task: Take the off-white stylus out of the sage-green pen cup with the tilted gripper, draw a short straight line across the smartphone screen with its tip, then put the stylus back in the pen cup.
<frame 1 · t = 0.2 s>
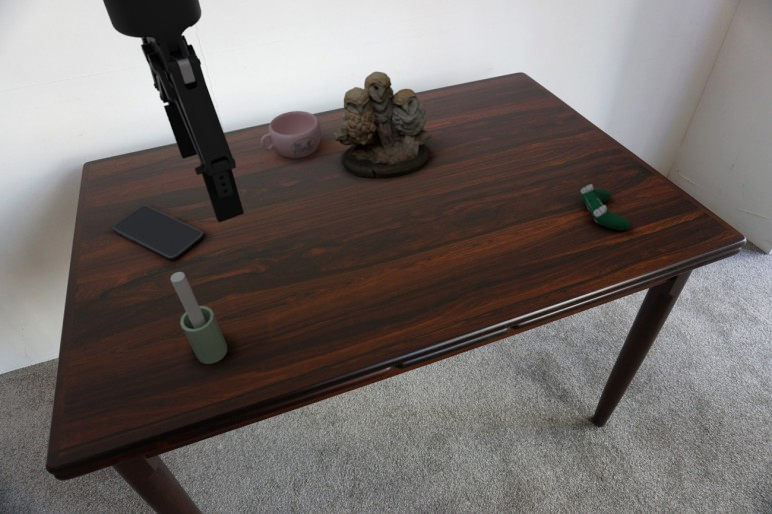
hand: (210, 183, 58), 23 cm above the table, tool pointing down, fingers open, 13 cm apart
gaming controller: (600, 216, 86), on the table
owl figurine: (383, 161, 100), on the table
smartphone: (159, 234, 87), on the table
stylus: (211, 349, 69), resting on pen holder
mug: (293, 151, 103), on the table
pen holder: (212, 351, 69), on the table
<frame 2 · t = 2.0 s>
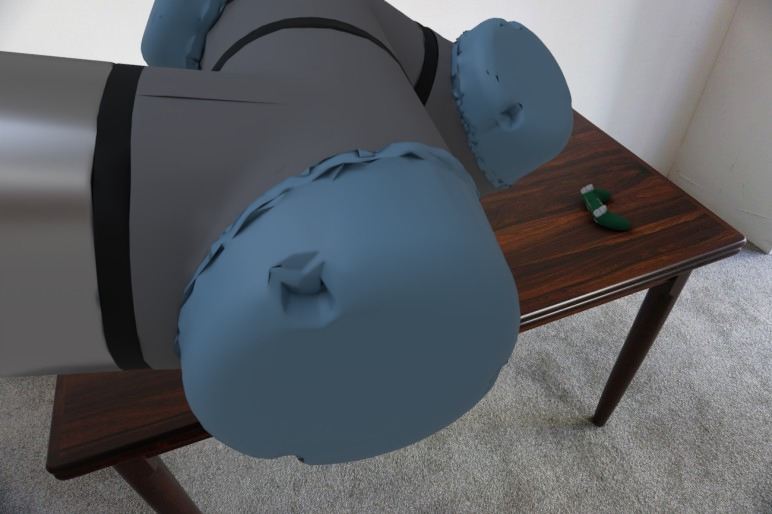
hand: (240, 278, 52), 19 cm above the table, tool tilted 45°, fingers open, 13 cm apart
nothing on the table moved.
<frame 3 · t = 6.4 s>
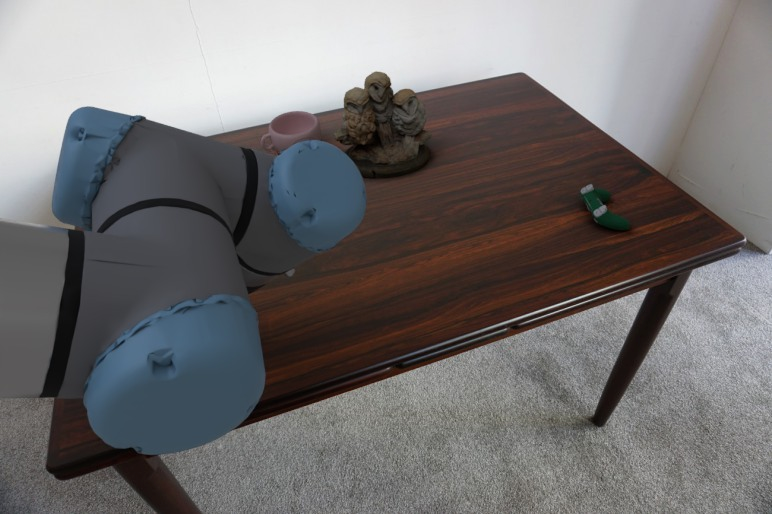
hand: (172, 304, 65), 8 cm above the table, tool tilted 45°, fingers closed on stylus, 1 cm apart
stylus: (211, 349, 69), resting on pen holder, touching gripper
everything else where it was.
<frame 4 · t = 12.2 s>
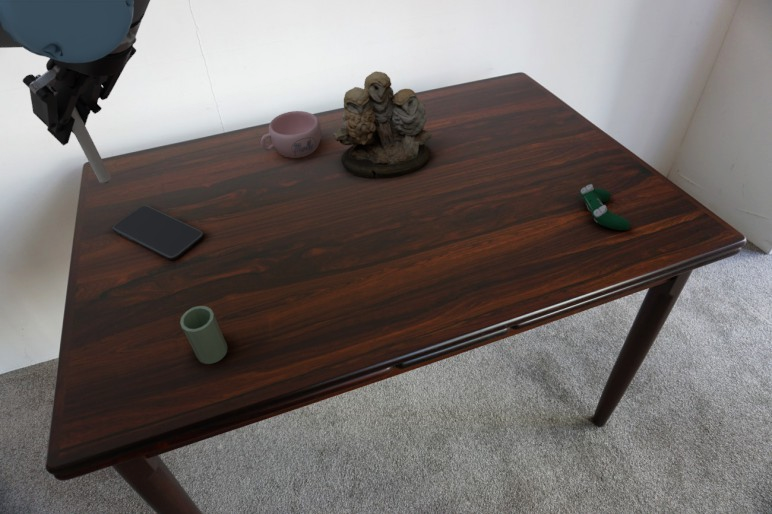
hand: (64, 132, 70), 21 cm above the table, tool tilted 45°, fingers closed on stylus, 1 cm apart
stylus: (106, 182, 74), point 14 cm above the table, touching gripper
everything else where it was.
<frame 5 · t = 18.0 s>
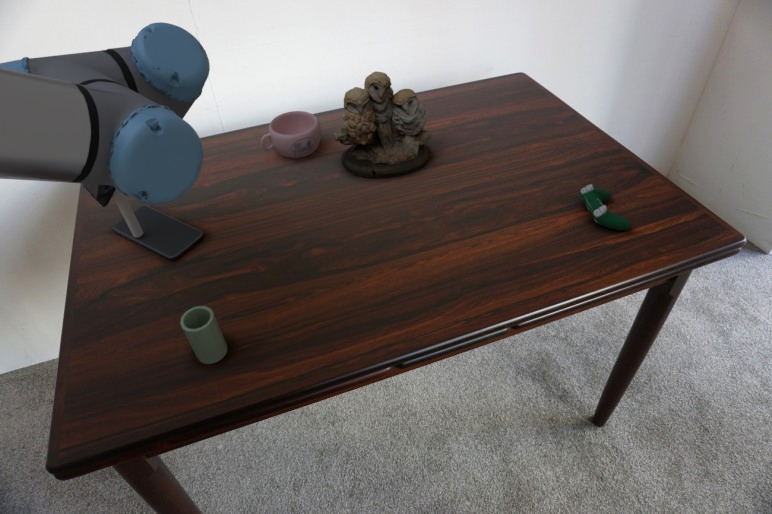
hand: (104, 195, 81), 8 cm above the table, tool tilted 45°, fingers closed on stylus, 1 cm apart
stylus: (139, 236, 85), point 1 cm above the table, touching gripper
everything else where it was.
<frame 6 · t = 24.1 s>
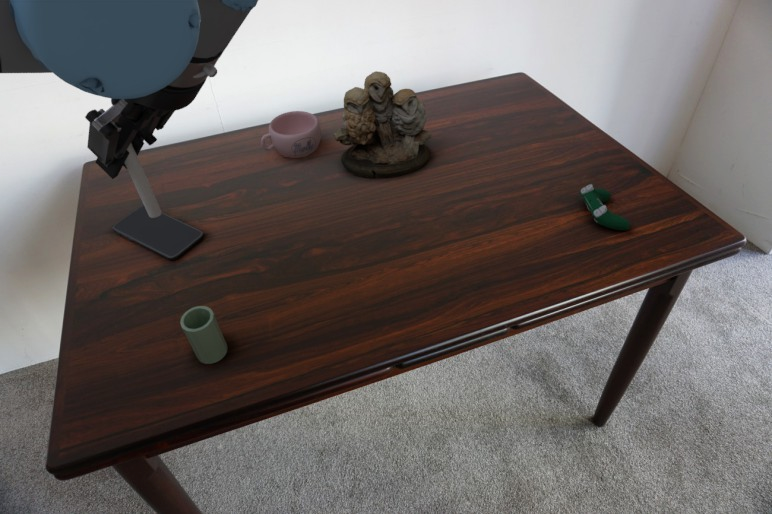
hand: (113, 164, 64), 21 cm above the table, tool tilted 45°, fingers closed on stylus, 1 cm apart
stylus: (156, 217, 68), point 14 cm above the table, touching gripper
everything else where it was.
when the fingers open (8 cm above the table, at t = 29.5 s): stylus stays where it is, resting on pen holder.
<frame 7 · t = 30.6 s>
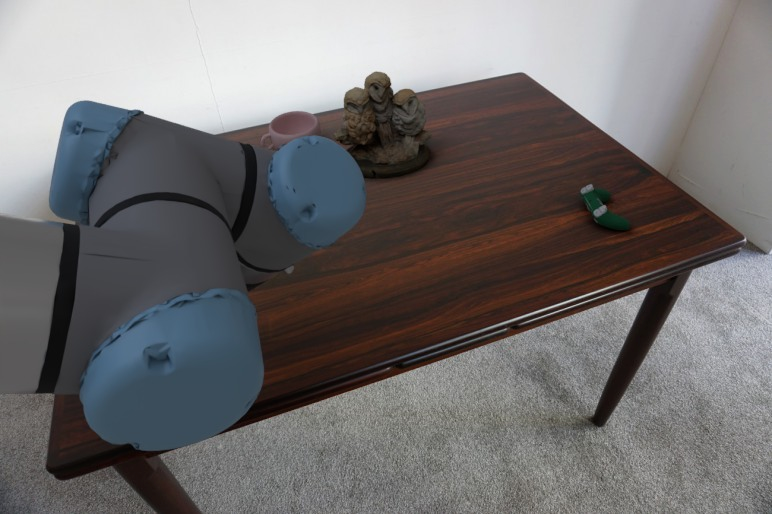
hand: (176, 298, 63), 10 cm above the table, tool tilted 45°, fingers open, 13 cm apart
stylus: (212, 349, 69), point 1 cm above the table, tilted 8°, touching pen holder
everything else where it was.
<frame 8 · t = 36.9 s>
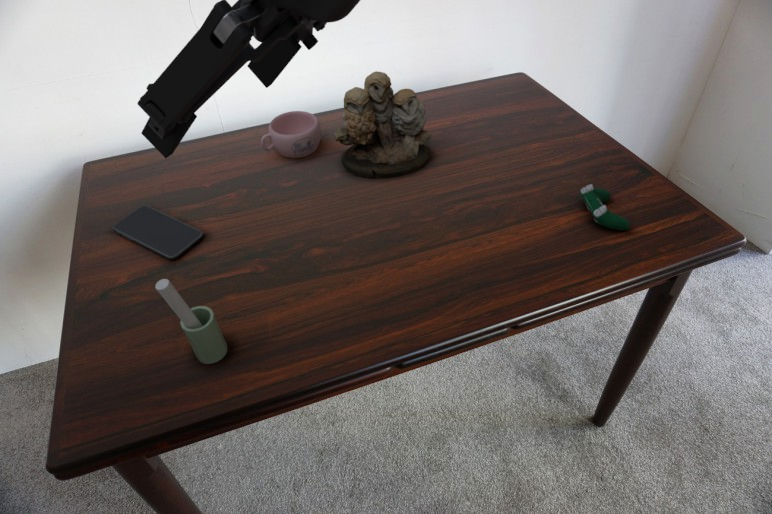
hand: (212, 106, 48), 34 cm above the table, tool tilted 45°, fingers open, 13 cm apart
nothing on the table moved.
at the end: stylus 0.1 cm off-centre in the pen holder, point 0.5 cm above the pen holder's base; stylus tilted 8°; smartphone moved 0.0 cm from its start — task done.
